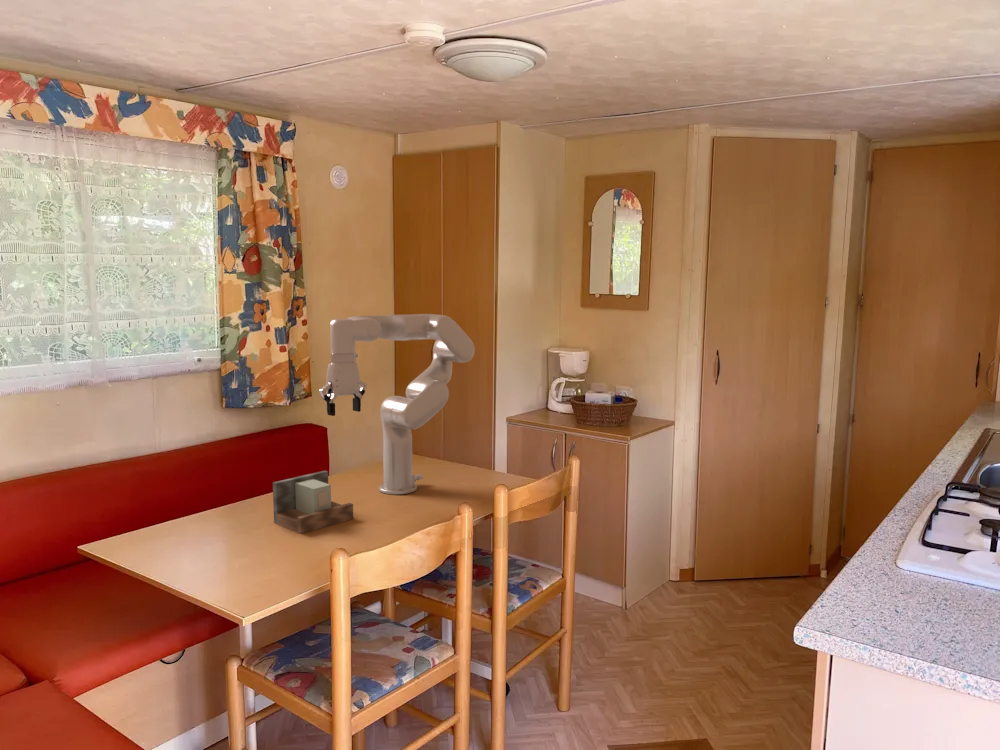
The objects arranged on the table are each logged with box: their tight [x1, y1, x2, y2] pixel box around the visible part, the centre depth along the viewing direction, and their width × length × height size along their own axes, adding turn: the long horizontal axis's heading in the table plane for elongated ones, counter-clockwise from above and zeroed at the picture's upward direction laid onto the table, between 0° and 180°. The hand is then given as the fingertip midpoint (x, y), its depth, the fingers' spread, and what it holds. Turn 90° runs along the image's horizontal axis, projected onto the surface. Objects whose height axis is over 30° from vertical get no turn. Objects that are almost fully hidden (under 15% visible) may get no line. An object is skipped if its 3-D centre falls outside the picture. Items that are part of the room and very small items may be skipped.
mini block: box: [295, 479, 332, 514], centre depth 226 cm, size 6×9×8 cm, turn 48°
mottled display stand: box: [272, 470, 354, 535], centre depth 226 cm, size 18×14×12 cm
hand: (344, 413), depth 242 cm, fingers open, 9 cm apart
